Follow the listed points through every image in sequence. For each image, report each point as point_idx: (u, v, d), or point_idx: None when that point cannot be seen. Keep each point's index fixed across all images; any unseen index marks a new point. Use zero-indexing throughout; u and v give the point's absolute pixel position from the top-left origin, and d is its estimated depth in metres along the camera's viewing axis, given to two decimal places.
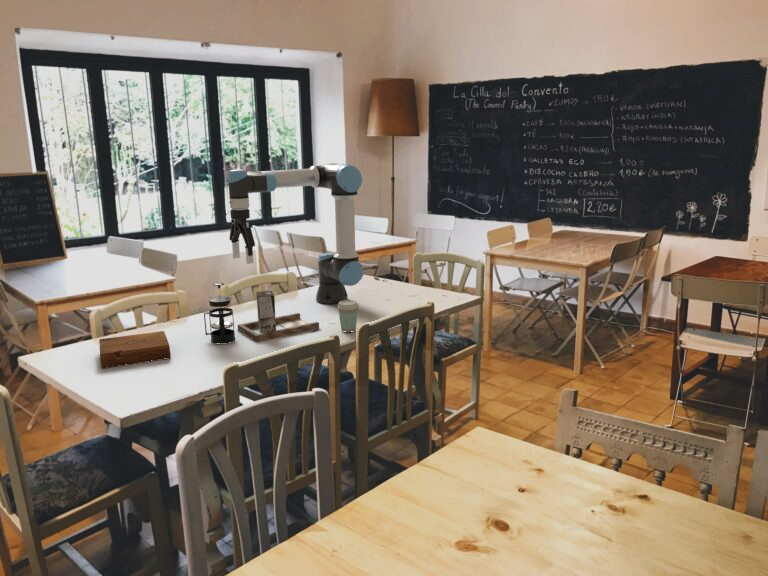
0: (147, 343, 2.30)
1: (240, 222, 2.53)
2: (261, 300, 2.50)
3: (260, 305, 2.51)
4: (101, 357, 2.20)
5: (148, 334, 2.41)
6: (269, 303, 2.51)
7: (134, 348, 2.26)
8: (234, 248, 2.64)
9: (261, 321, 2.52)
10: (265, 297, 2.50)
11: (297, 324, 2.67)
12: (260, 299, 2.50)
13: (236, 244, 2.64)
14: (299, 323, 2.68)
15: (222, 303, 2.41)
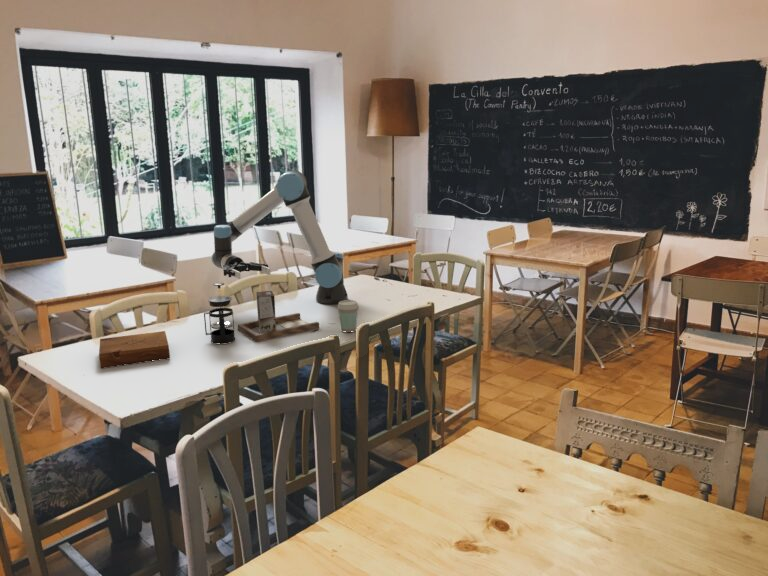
0: (147, 344, 2.30)
1: None
2: (261, 300, 2.50)
3: (260, 305, 2.51)
4: (100, 357, 2.20)
5: (149, 334, 2.41)
6: (269, 303, 2.51)
7: (134, 348, 2.26)
8: (264, 271, 2.69)
9: (261, 321, 2.52)
10: (265, 297, 2.50)
11: (297, 324, 2.67)
12: (260, 299, 2.50)
13: (262, 268, 2.70)
14: (299, 323, 2.68)
15: (222, 303, 2.41)
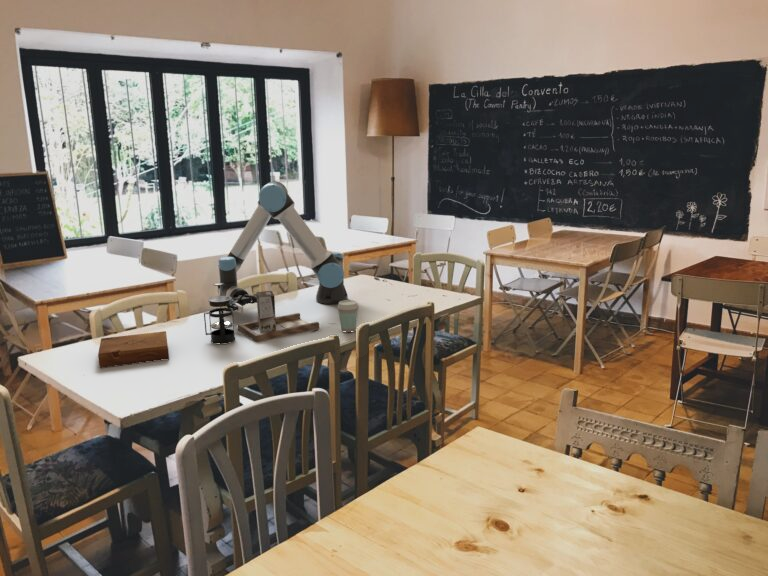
0: (146, 344, 2.30)
1: None
2: (261, 300, 2.50)
3: (260, 305, 2.51)
4: (99, 357, 2.20)
5: (149, 334, 2.41)
6: (269, 303, 2.51)
7: (133, 348, 2.25)
8: None
9: (261, 321, 2.52)
10: (265, 297, 2.50)
11: (297, 324, 2.67)
12: (260, 299, 2.50)
13: None
14: (299, 323, 2.68)
15: (222, 303, 2.41)
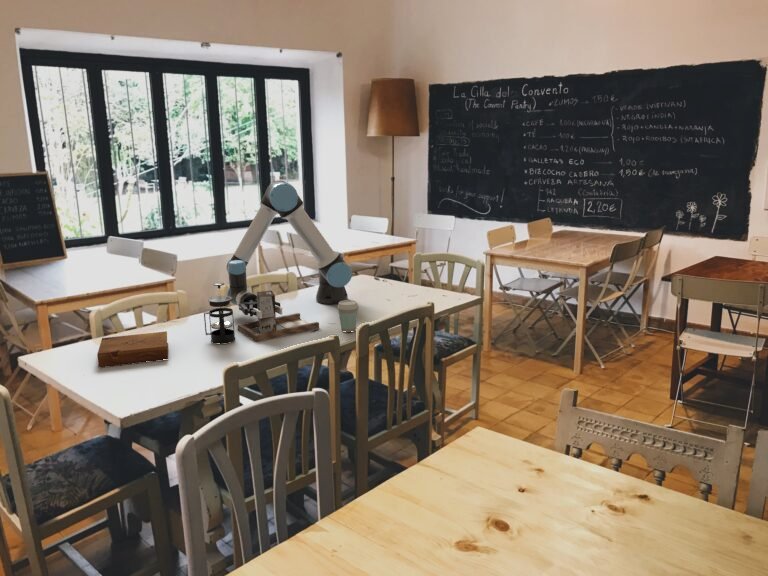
0: (146, 344, 2.29)
1: None
2: (261, 299, 2.50)
3: (260, 305, 2.51)
4: (98, 356, 2.20)
5: (150, 334, 2.41)
6: (269, 303, 2.51)
7: (132, 348, 2.25)
8: (276, 311, 2.58)
9: (261, 321, 2.52)
10: (266, 297, 2.51)
11: (297, 324, 2.67)
12: (261, 299, 2.50)
13: None
14: (299, 323, 2.68)
15: (222, 303, 2.41)
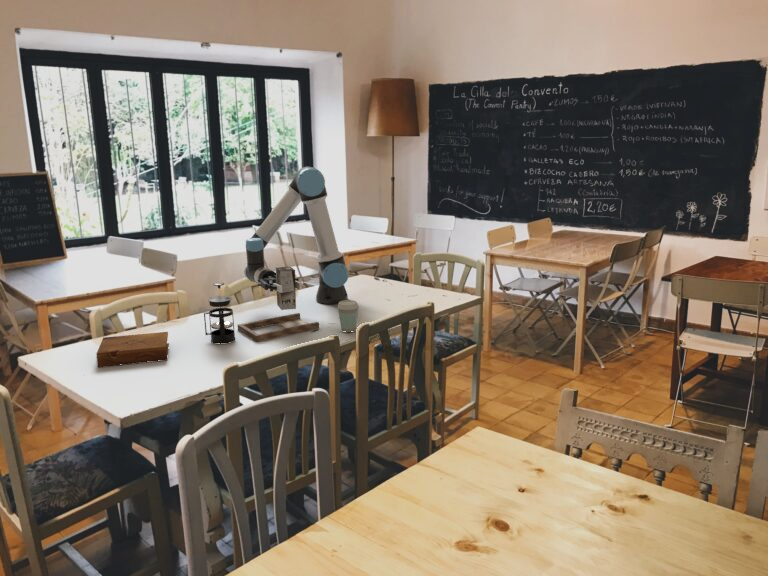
0: (145, 344, 2.29)
1: None
2: (282, 274, 2.54)
3: (281, 279, 2.54)
4: (97, 356, 2.21)
5: (151, 334, 2.40)
6: (289, 277, 2.55)
7: (132, 348, 2.25)
8: None
9: (282, 295, 2.55)
10: (286, 271, 2.54)
11: (297, 324, 2.67)
12: (281, 273, 2.53)
13: None
14: (299, 323, 2.68)
15: (222, 303, 2.41)
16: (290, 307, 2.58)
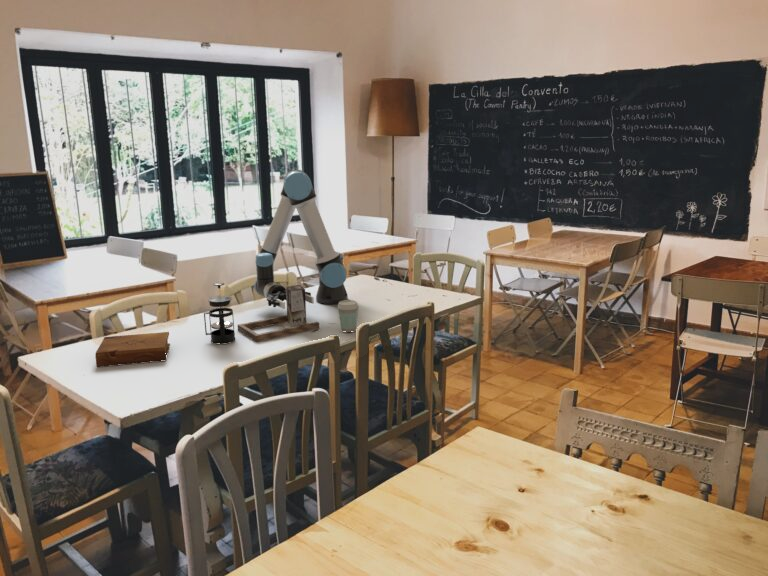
0: (145, 344, 2.29)
1: None
2: (293, 293, 2.58)
3: (292, 299, 2.58)
4: (96, 356, 2.21)
5: (152, 334, 2.40)
6: (300, 296, 2.59)
7: (131, 348, 2.25)
8: (307, 300, 2.67)
9: (292, 314, 2.60)
10: (296, 291, 2.58)
11: None
12: (292, 293, 2.58)
13: (305, 297, 2.68)
14: None
15: (222, 303, 2.41)
16: None
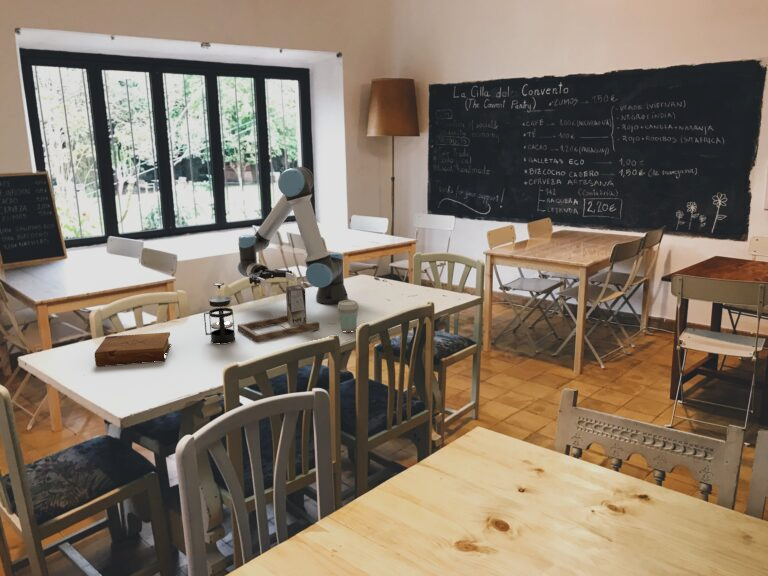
0: (144, 344, 2.29)
1: None
2: (293, 293, 2.58)
3: (292, 299, 2.58)
4: (95, 355, 2.21)
5: (153, 334, 2.40)
6: (300, 296, 2.59)
7: (130, 348, 2.25)
8: (288, 278, 2.78)
9: (292, 314, 2.60)
10: (296, 291, 2.58)
11: None
12: (292, 293, 2.58)
13: (286, 275, 2.79)
14: None
15: (222, 303, 2.41)
16: None
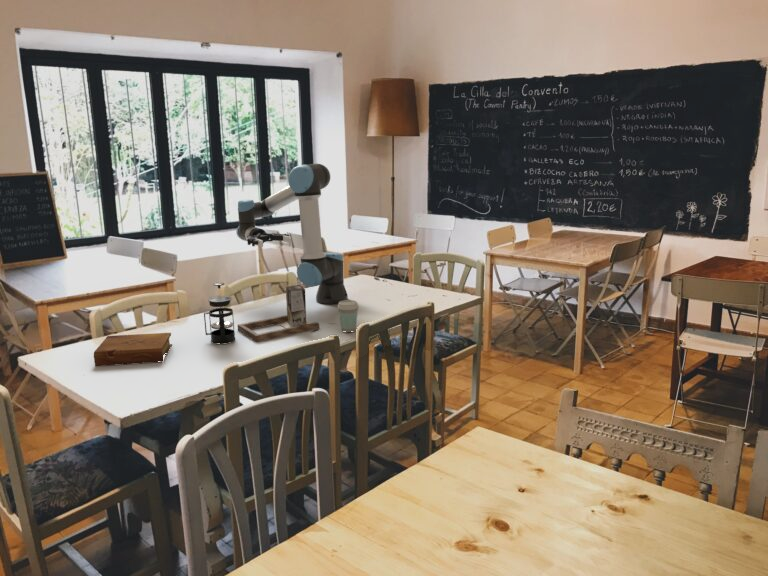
0: (144, 345, 2.29)
1: None
2: (292, 293, 2.58)
3: (292, 299, 2.58)
4: (94, 355, 2.22)
5: (153, 334, 2.40)
6: (300, 296, 2.59)
7: (129, 348, 2.25)
8: (285, 240, 2.85)
9: (292, 314, 2.60)
10: (296, 291, 2.58)
11: None
12: (292, 293, 2.58)
13: (283, 238, 2.86)
14: None
15: (222, 303, 2.41)
16: None
